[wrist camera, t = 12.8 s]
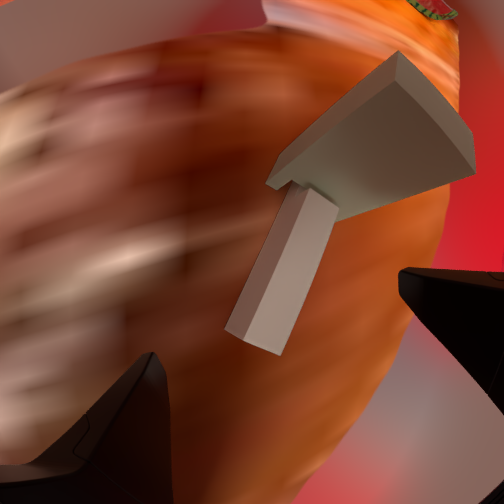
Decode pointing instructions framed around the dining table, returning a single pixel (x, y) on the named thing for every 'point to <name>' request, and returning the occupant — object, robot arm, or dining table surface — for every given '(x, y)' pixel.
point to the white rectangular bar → (283, 270)
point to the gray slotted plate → (380, 143)
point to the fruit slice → (434, 9)
